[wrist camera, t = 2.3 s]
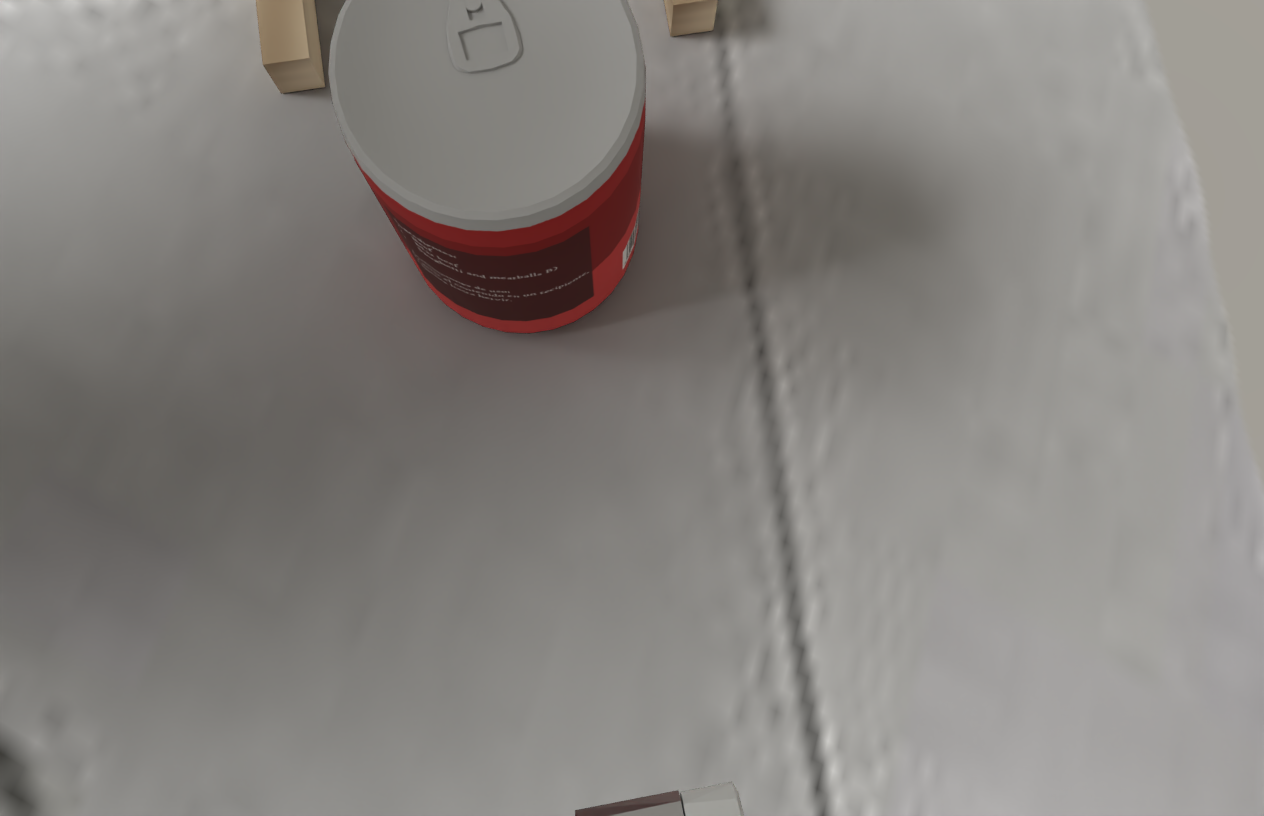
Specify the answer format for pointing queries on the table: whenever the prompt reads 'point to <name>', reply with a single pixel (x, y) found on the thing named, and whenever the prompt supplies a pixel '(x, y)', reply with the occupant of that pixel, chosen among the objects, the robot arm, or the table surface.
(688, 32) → the bay
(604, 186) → the canned food
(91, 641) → the table surface
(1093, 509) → the table surface
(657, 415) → the table surface
